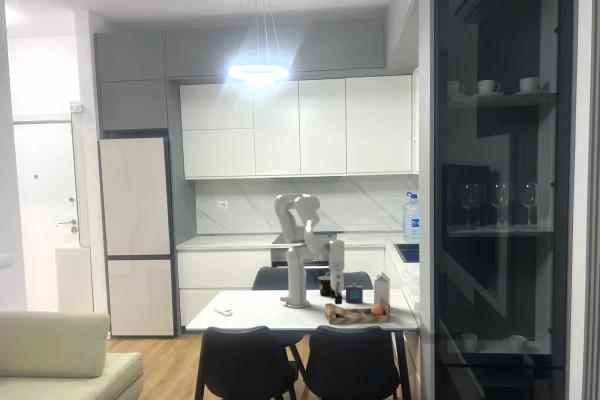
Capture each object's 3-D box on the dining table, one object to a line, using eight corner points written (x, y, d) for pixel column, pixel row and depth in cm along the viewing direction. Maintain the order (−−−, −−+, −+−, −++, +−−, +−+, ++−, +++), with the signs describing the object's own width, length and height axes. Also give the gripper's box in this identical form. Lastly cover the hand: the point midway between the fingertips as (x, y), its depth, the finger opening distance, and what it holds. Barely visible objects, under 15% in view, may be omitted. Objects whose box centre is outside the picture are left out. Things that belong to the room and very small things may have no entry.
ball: (372, 318, 199) (384, 319, 199) (373, 306, 198) (385, 306, 199) (369, 314, 204) (380, 314, 205) (370, 302, 204) (382, 302, 205)
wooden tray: (329, 324, 193) (329, 307, 193) (325, 314, 206) (325, 299, 205) (389, 321, 196) (390, 304, 196) (381, 312, 209) (382, 297, 208)
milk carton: (389, 306, 218) (389, 271, 216) (387, 311, 211) (388, 274, 210) (376, 305, 220) (376, 270, 219) (373, 309, 213) (374, 273, 212)
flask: (362, 301, 226) (362, 282, 226) (363, 303, 223) (363, 284, 223) (345, 301, 227) (345, 282, 226) (345, 303, 224) (345, 283, 223)
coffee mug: (317, 293, 243) (317, 276, 242) (332, 292, 244) (332, 275, 243) (320, 299, 231) (320, 281, 231) (335, 298, 232) (335, 281, 232)
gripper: (348, 269, 190) (348, 306, 191) (340, 261, 207) (340, 295, 208) (332, 270, 189) (332, 307, 190) (325, 262, 206) (325, 296, 207)
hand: (336, 300), depth 199 cm, fingers open, 9 cm apart
